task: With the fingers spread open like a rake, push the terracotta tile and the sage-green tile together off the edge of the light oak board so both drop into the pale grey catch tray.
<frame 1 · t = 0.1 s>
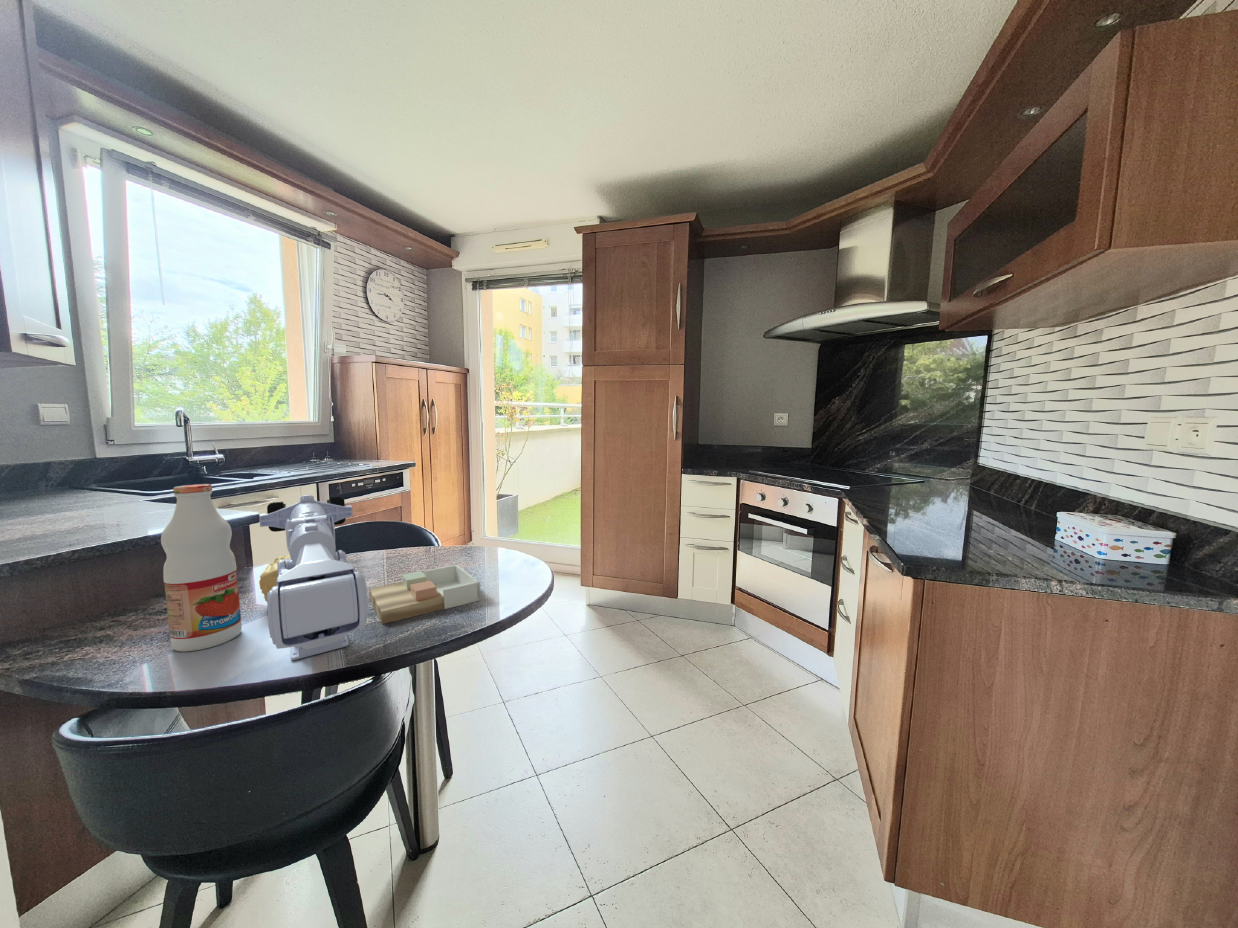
hand: (307, 506, 92), 22 cm above the table, tool horizontal, fingers open, 7 cm apart
tray: (451, 593, 101), on the table
tile a: (423, 595, 93), point 2 cm above the table, touching board
fruit juice: (208, 641, 80), on the table
sculpture: (296, 603, 98), on the table
board: (405, 603, 95), on the table
tile b: (414, 584, 100), point 2 cm above the table, touching board
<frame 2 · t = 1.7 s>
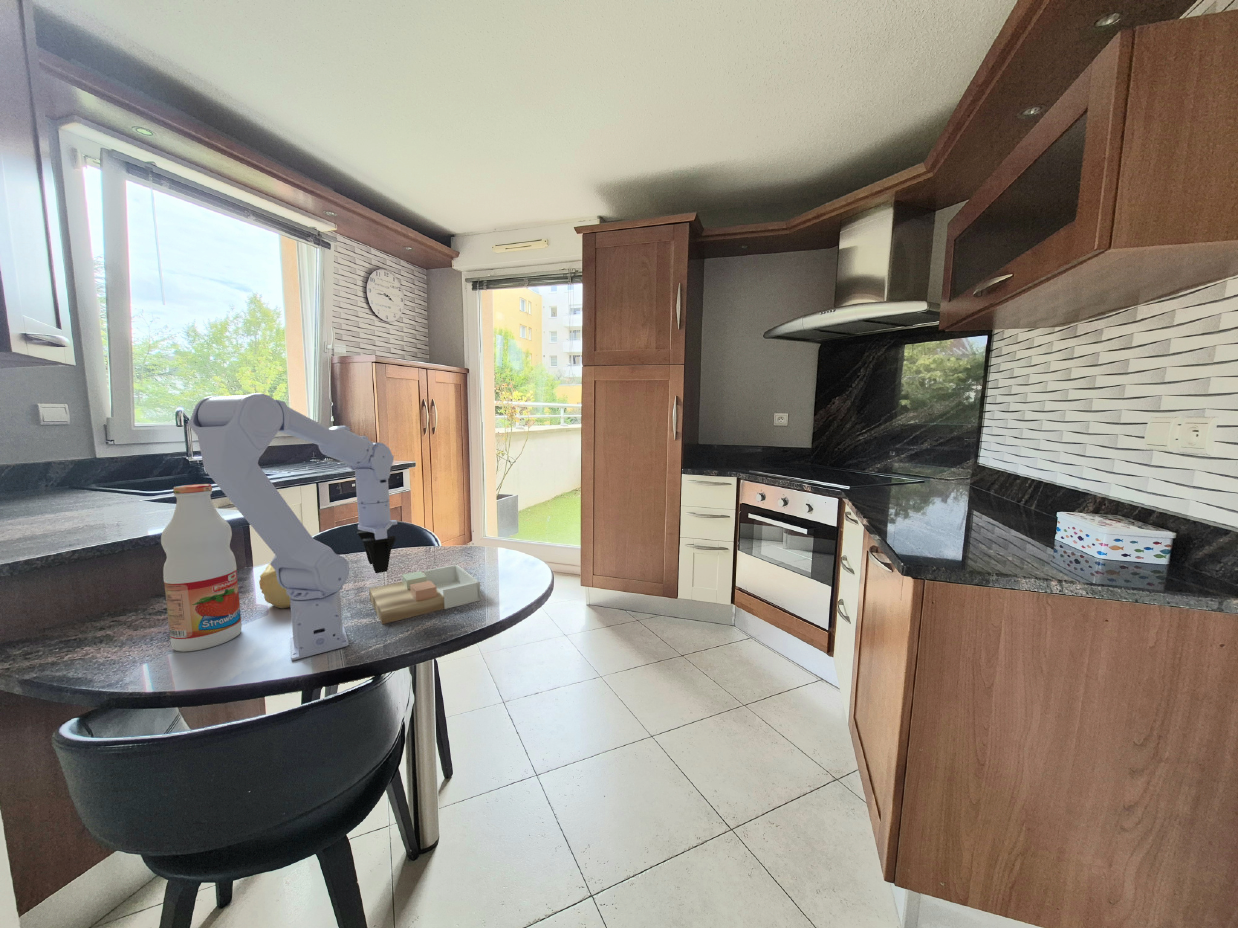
hand: (378, 567, 92), 9 cm above the table, tool pointing down, fingers open, 7 cm apart
nothing on the table moved.
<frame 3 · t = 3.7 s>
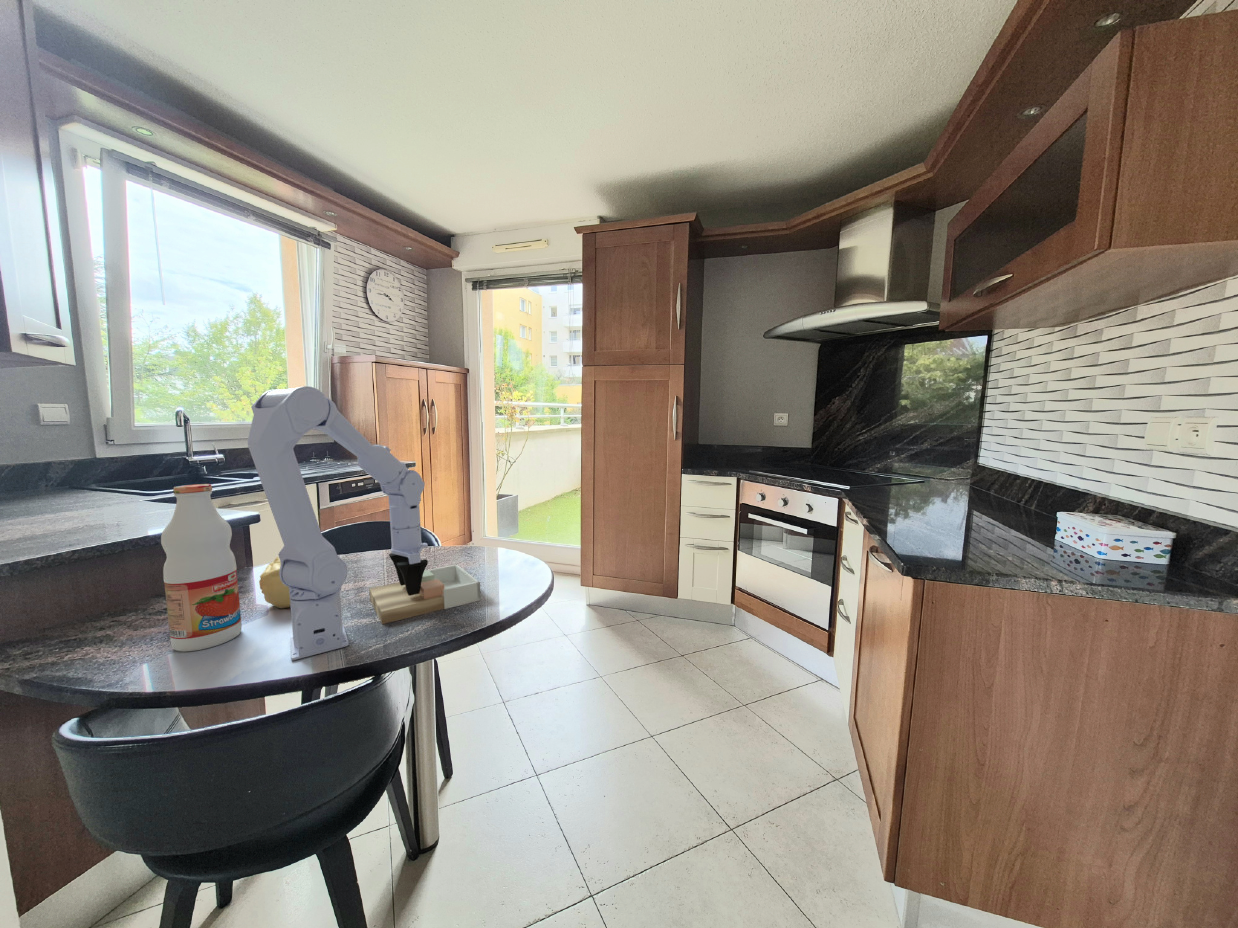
hand: (409, 588, 95), 3 cm above the table, tool pointing down, fingers open, 7 cm apart
tile a: (431, 593, 94), point 3 cm above the table, touching gripper
tile b: (422, 582, 101), point 2 cm above the table, touching board
everything else where it was.
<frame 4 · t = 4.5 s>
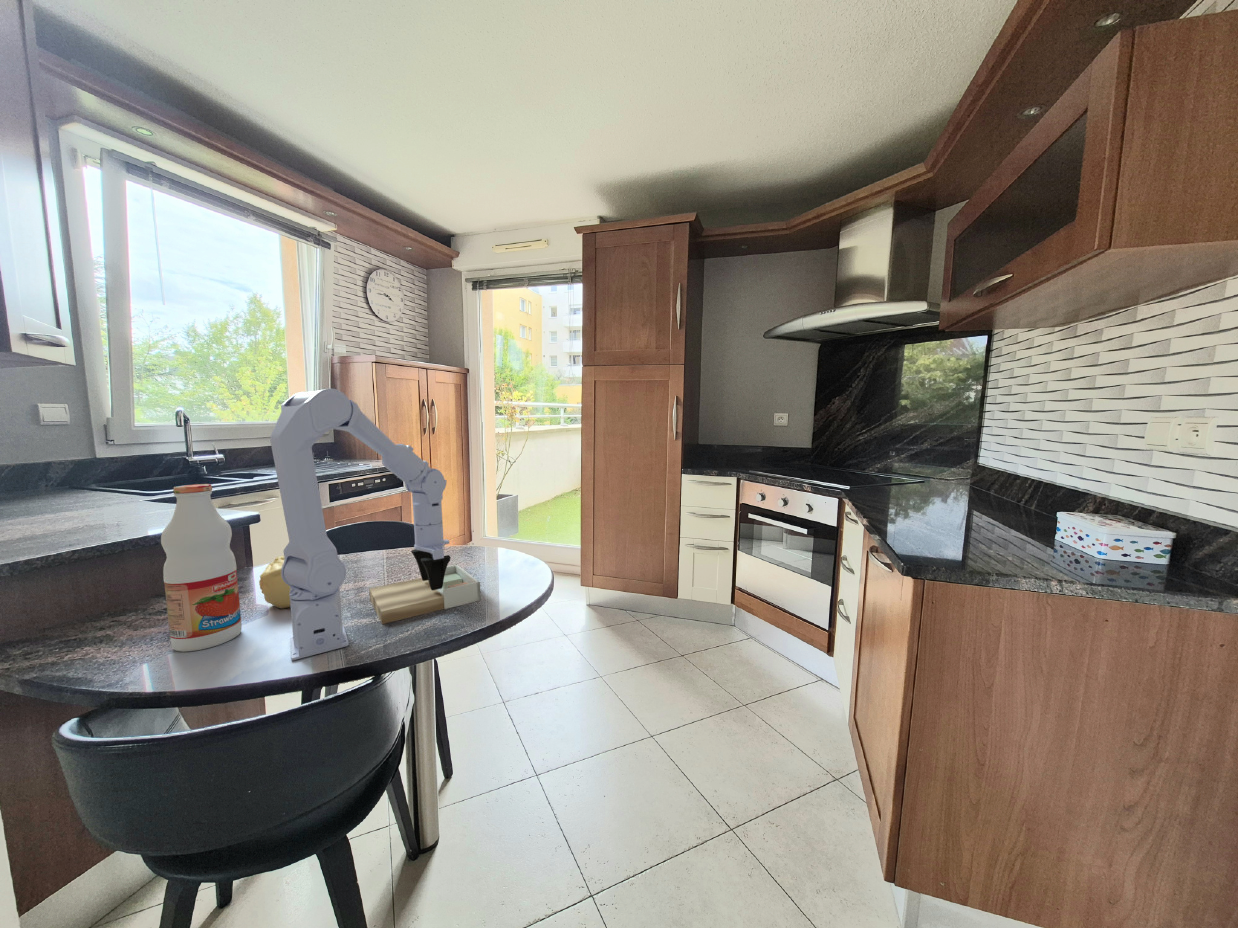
hand: (432, 584, 98), 3 cm above the table, tool pointing down, fingers open, 7 cm apart
tile a: (460, 587, 98), point 2 cm above the table, tilted 180°, touching tray
tile b: (450, 577, 104), point 2 cm above the table, tilted 180°, touching tray
everything else where it was.
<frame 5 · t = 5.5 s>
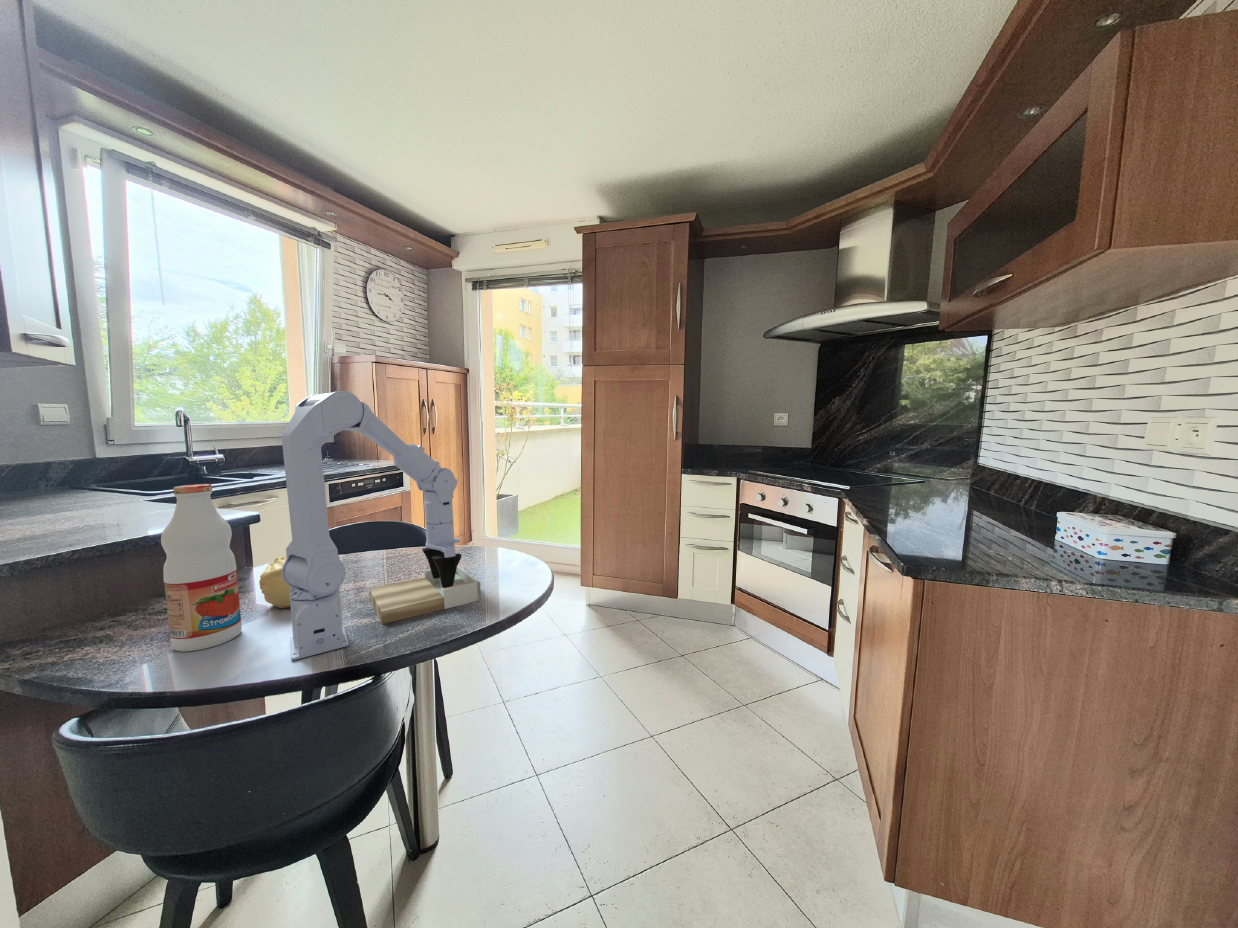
hand: (442, 582, 99), 3 cm above the table, tool pointing down, fingers open, 7 cm apart
nothing on the table moved.
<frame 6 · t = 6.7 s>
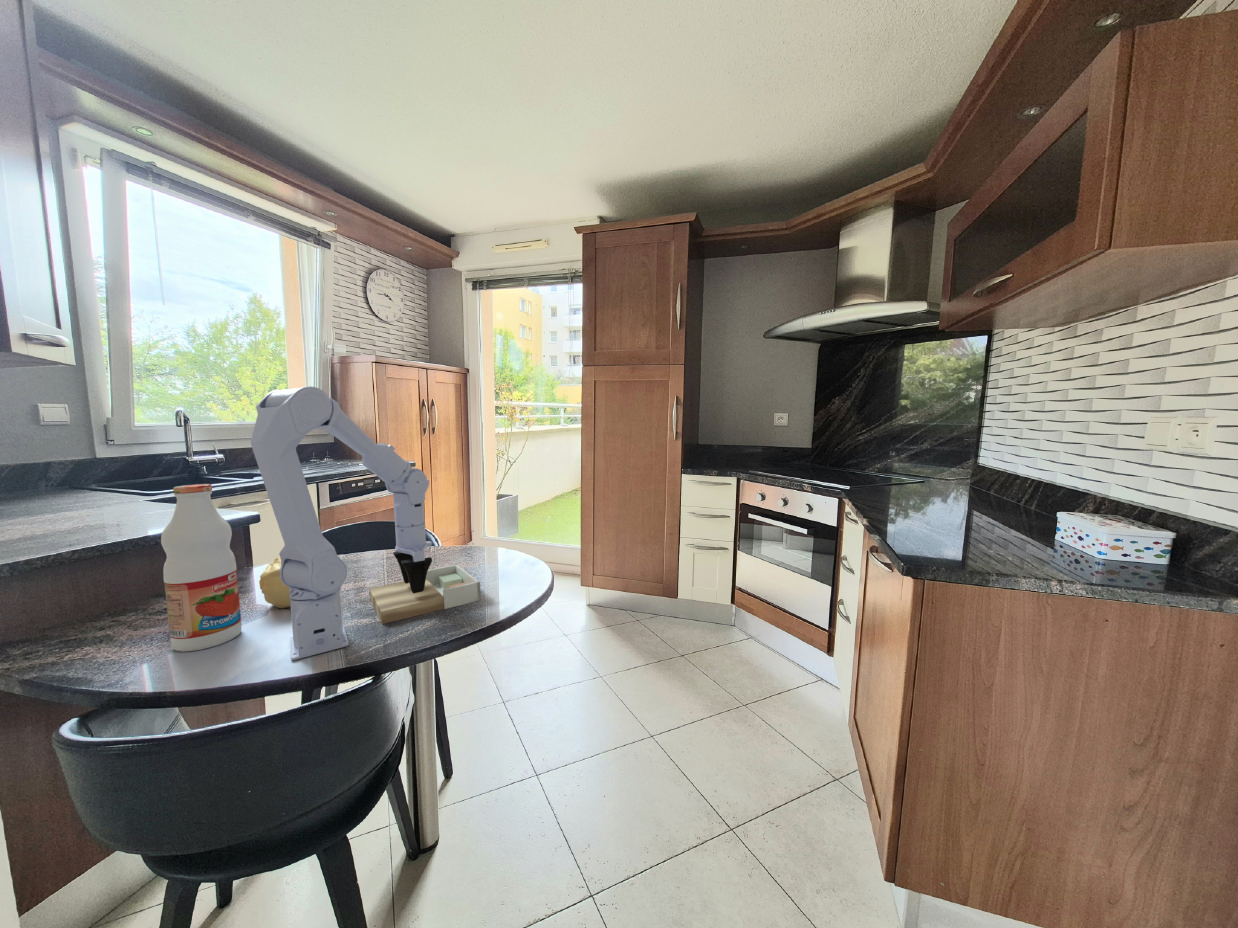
hand: (413, 586, 96), 3 cm above the table, tool pointing down, fingers open, 7 cm apart
nothing on the table moved.
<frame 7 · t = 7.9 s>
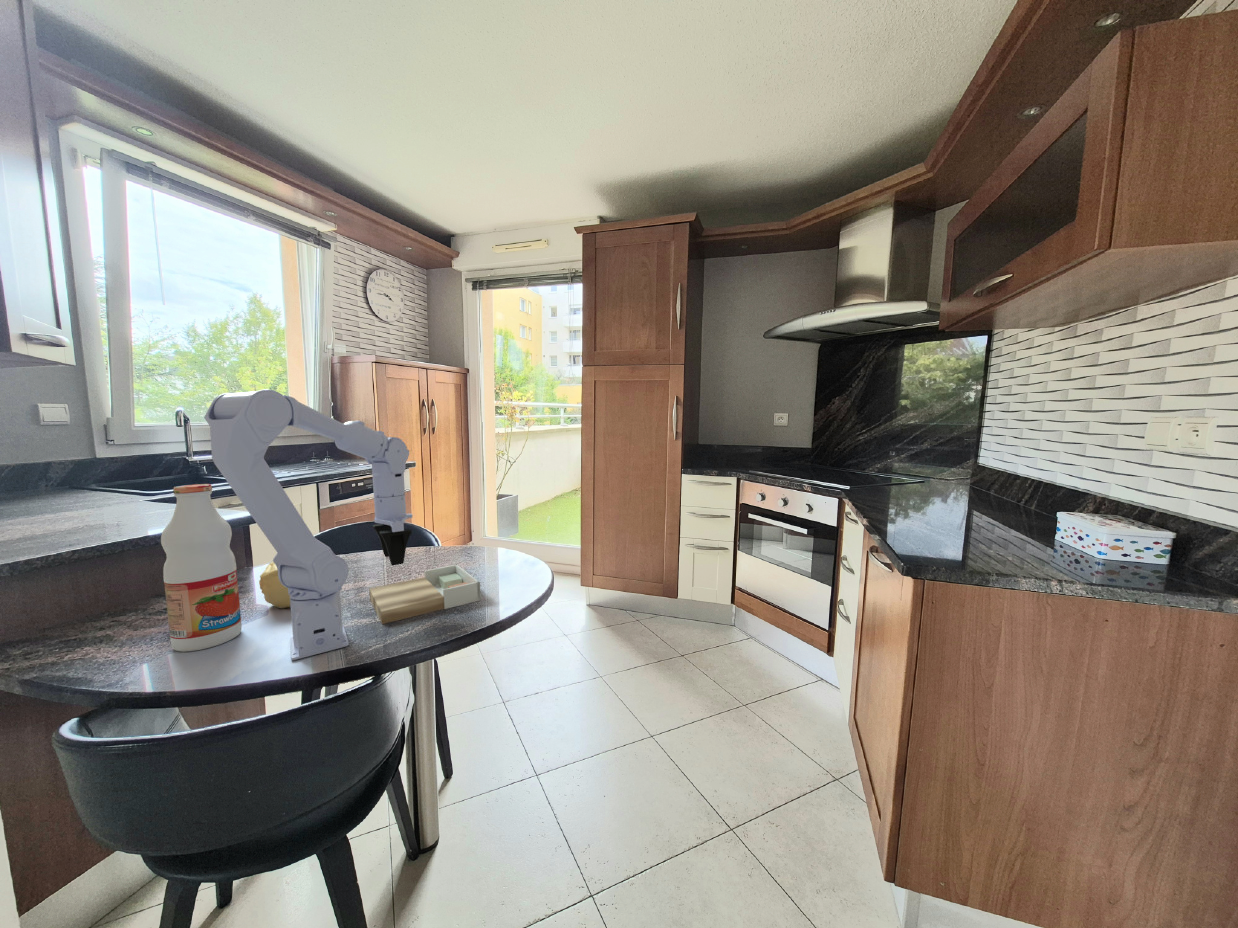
hand: (393, 559, 93), 10 cm above the table, tool pointing down, fingers open, 7 cm apart
nothing on the table moved.
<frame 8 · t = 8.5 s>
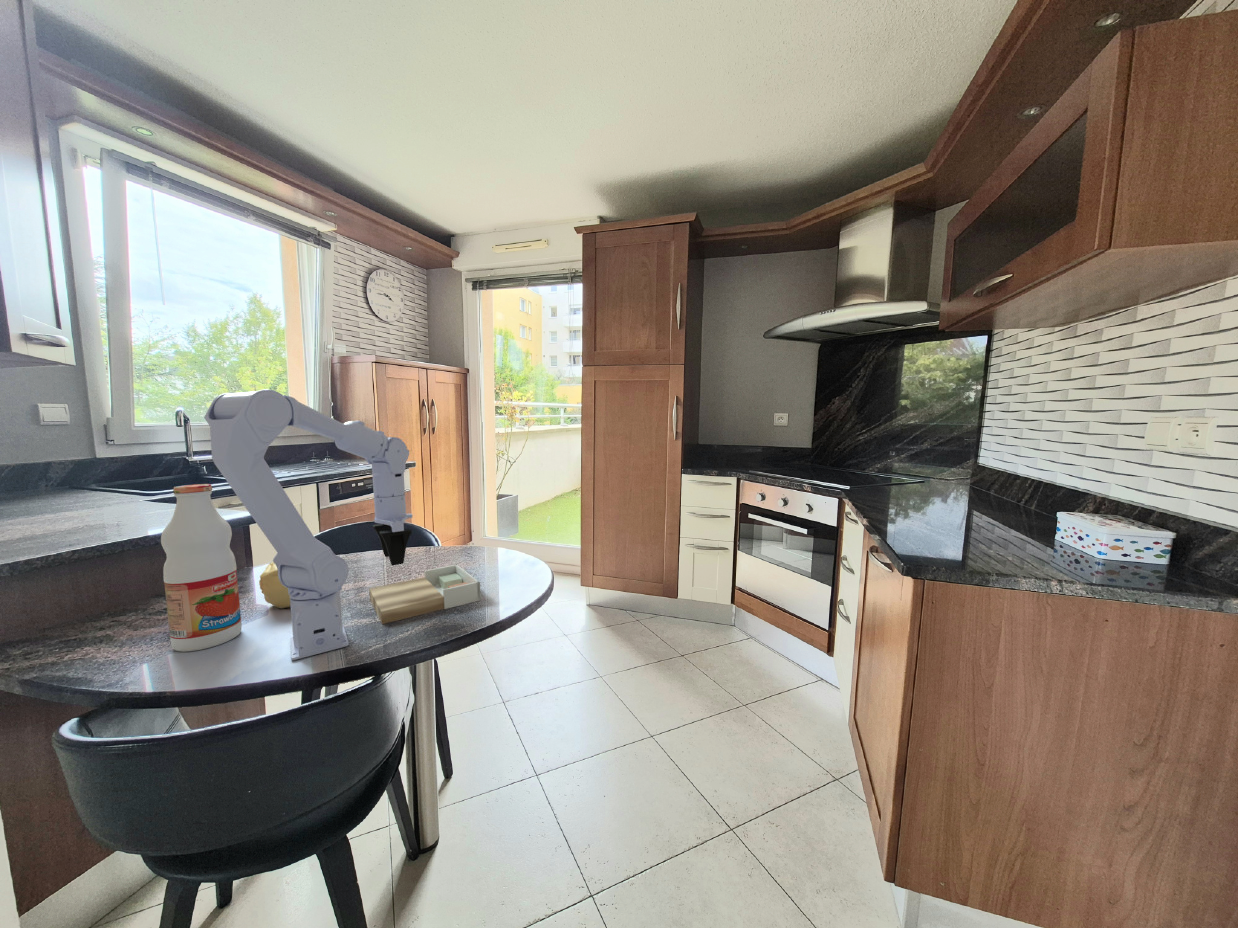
hand: (393, 559, 93), 10 cm above the table, tool pointing down, fingers open, 7 cm apart
nothing on the table moved.
at the end: tile a inside the target area on the tray (4.1 cm from its centre), point 2.4 cm above the tray's base; tile b inside the target area on the tray (4.3 cm from its centre), point 2.4 cm above the tray's base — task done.
